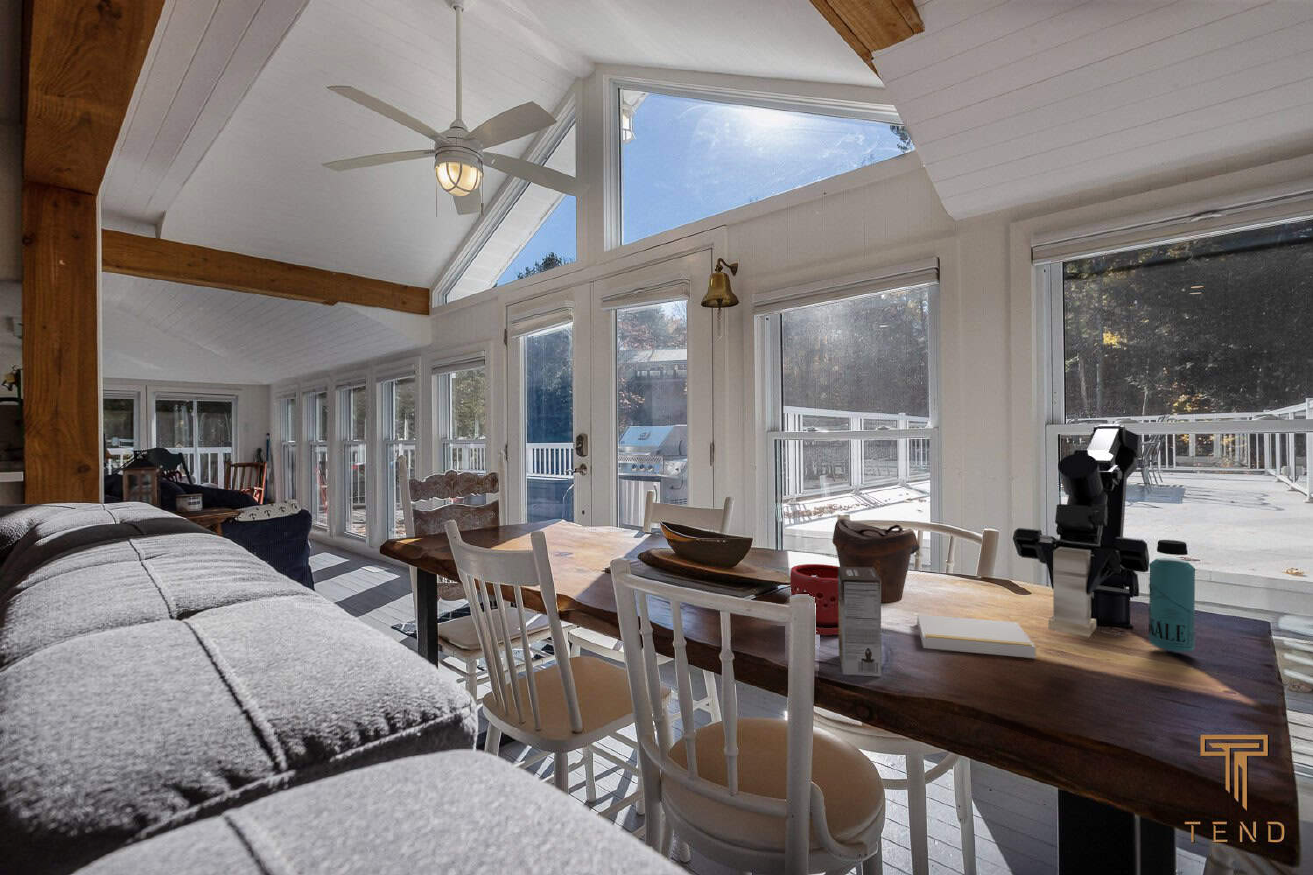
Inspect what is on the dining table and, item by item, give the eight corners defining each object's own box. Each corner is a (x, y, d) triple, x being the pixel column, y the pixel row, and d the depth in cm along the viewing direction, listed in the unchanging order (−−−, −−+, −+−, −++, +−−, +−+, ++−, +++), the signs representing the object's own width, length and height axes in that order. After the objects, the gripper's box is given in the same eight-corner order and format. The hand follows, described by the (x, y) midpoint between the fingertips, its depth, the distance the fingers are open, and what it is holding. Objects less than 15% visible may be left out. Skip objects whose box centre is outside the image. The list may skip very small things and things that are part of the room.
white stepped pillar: (1056, 620, 107) (1056, 545, 106) (1096, 628, 103) (1095, 550, 103) (1048, 629, 103) (1048, 550, 102) (1089, 636, 99) (1088, 555, 99)
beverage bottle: (1185, 649, 111) (1185, 537, 111) (1204, 662, 105) (1204, 544, 105) (1141, 645, 113) (1141, 536, 113) (1157, 658, 107) (1157, 543, 107)
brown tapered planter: (933, 605, 139) (932, 525, 139) (844, 607, 140) (842, 527, 140) (903, 586, 157) (901, 515, 157) (823, 587, 157) (822, 517, 157)
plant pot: (818, 644, 117) (817, 580, 116) (777, 624, 129) (777, 566, 128) (872, 633, 122) (871, 573, 122) (828, 615, 134) (828, 560, 134)
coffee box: (837, 654, 111) (836, 565, 111) (875, 656, 110) (874, 566, 110) (842, 675, 102) (841, 578, 102) (883, 677, 101) (882, 579, 101)
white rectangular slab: (1017, 632, 121) (1017, 621, 121) (1035, 658, 108) (1035, 645, 108) (917, 624, 127) (917, 613, 127) (923, 647, 114) (923, 635, 114)
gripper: (1015, 483, 112) (996, 554, 104) (1146, 489, 98) (1136, 571, 91) (1027, 521, 117) (1010, 591, 110) (1153, 531, 104) (1144, 612, 97)
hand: (1070, 590), depth 102 cm, fingers closed on white stepped pillar, 4 cm apart
